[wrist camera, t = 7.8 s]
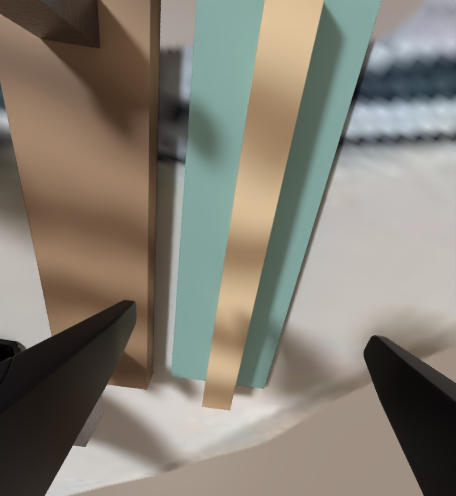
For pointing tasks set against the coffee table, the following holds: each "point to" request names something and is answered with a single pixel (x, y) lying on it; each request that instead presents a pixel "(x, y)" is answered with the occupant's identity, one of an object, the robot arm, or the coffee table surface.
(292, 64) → the oak rail
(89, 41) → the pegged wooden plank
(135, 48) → the walnut board
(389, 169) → the coffee table surface
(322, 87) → the teal mat
